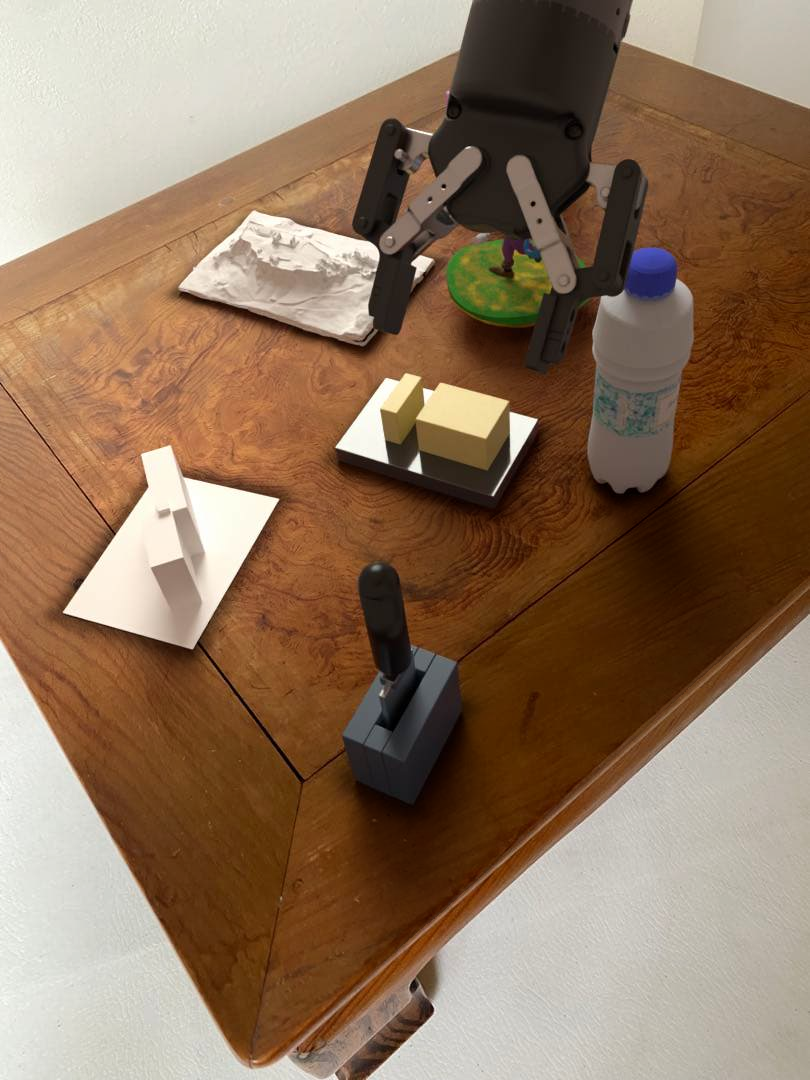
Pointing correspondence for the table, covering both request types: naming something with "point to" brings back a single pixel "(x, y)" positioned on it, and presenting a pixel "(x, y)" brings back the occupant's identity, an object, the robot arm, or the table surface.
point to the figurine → (499, 281)
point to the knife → (388, 638)
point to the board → (426, 469)
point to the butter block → (463, 425)
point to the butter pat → (402, 408)
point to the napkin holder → (172, 555)
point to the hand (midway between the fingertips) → (458, 351)
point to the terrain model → (295, 276)
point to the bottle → (639, 372)
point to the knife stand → (405, 730)
